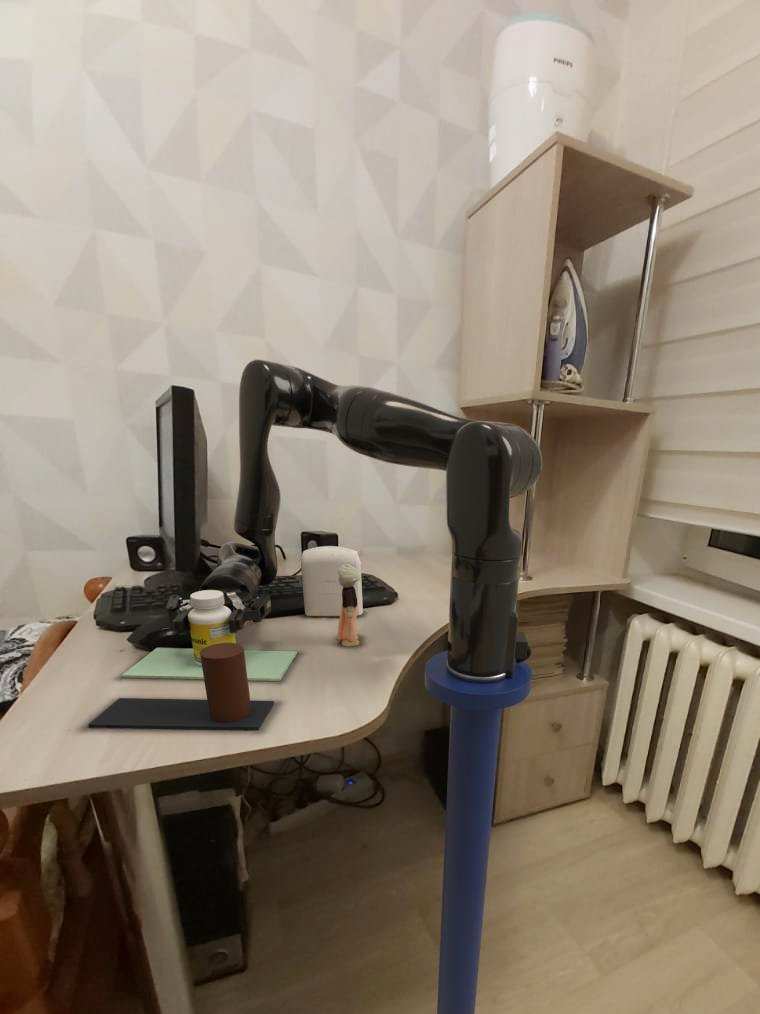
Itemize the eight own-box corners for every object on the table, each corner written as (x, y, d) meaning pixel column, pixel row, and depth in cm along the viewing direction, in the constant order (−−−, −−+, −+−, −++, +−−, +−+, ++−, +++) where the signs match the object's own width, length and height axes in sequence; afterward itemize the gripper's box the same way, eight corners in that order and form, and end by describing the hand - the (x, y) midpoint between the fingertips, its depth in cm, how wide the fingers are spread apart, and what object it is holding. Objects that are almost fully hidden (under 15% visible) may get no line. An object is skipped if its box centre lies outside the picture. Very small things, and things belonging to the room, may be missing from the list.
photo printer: (302, 617, 91) (297, 548, 86) (306, 609, 95) (301, 543, 90) (362, 618, 93) (360, 550, 88) (363, 610, 97) (361, 544, 92)
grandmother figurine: (334, 634, 85) (330, 559, 80) (357, 632, 86) (355, 558, 81) (341, 653, 78) (338, 572, 73) (367, 650, 80) (365, 571, 75)
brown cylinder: (256, 703, 62) (249, 643, 59) (243, 723, 58) (235, 659, 55) (218, 703, 62) (209, 642, 59) (203, 722, 58) (192, 657, 55)
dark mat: (274, 703, 63) (273, 700, 63) (258, 730, 58) (257, 727, 58) (120, 700, 62) (119, 697, 62) (88, 727, 56) (87, 724, 56)
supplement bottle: (189, 659, 72) (177, 592, 69) (228, 649, 76) (219, 585, 72) (204, 672, 69) (193, 603, 65) (244, 661, 73) (236, 595, 69)
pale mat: (297, 653, 77) (297, 651, 77) (279, 681, 69) (279, 678, 69) (157, 650, 75) (156, 647, 75) (122, 677, 67) (121, 675, 67)
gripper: (177, 566, 80) (139, 601, 65) (276, 566, 83) (262, 599, 68) (185, 612, 83) (150, 655, 67) (280, 610, 86) (267, 651, 71)
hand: (206, 627), depth 68 cm, fingers open, 5 cm apart
